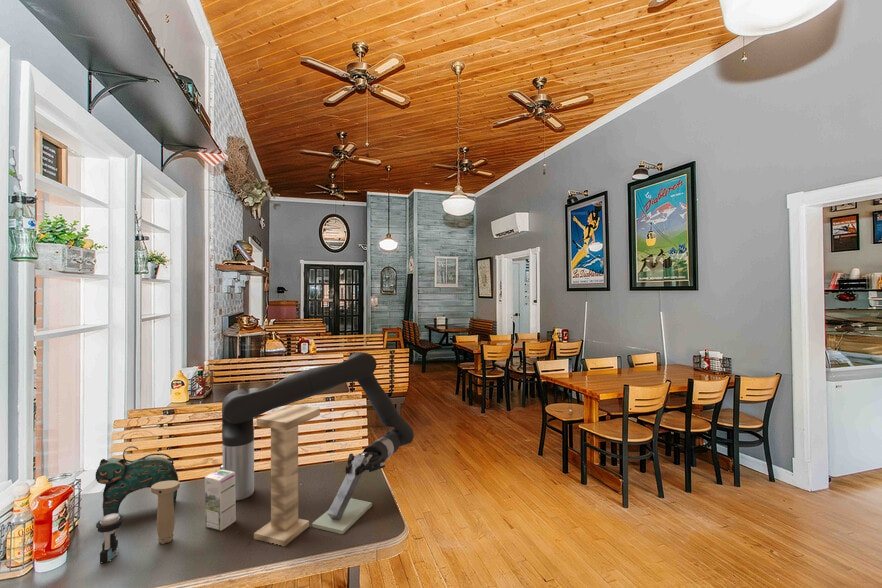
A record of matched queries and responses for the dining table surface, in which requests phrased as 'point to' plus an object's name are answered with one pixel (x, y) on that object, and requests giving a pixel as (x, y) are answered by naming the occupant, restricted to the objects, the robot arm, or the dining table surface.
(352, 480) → the long grey plank
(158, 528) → the handle
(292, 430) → the stand
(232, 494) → the syrup box
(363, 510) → the mat
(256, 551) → the dining table surface
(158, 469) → the ceramic cat
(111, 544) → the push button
